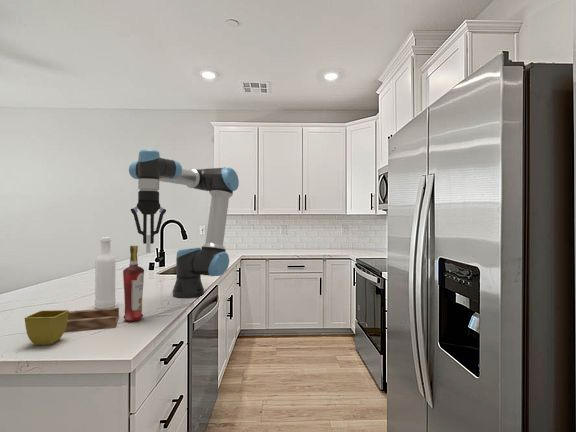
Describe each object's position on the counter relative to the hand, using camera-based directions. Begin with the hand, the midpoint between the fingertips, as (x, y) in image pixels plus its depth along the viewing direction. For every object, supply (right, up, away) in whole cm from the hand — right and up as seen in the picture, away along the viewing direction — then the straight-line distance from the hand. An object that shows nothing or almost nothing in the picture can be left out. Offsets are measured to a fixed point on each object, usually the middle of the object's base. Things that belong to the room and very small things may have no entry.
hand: (148, 252), depth 139 cm
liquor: (-5, -26, -2) cm, 26 cm away
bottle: (-25, -25, +17) cm, 40 cm away
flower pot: (-21, -26, -26) cm, 42 cm away
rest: (-22, -25, -8) cm, 34 cm away
